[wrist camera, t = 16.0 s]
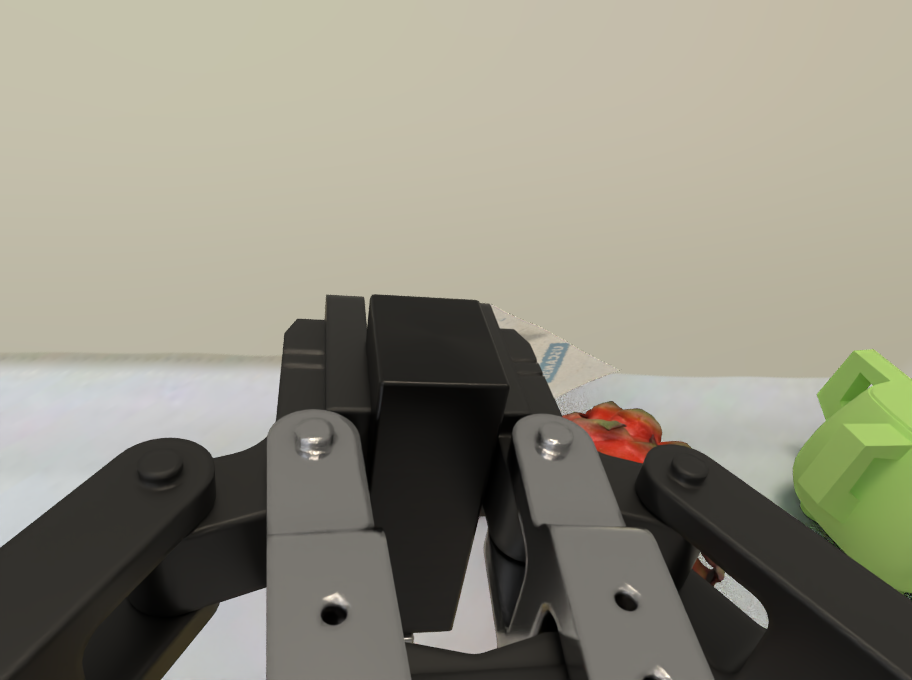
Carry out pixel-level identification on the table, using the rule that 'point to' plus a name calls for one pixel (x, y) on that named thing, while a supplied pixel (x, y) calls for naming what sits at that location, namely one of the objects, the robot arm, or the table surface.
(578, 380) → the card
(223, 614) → the table surface
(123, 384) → the table surface
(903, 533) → the teapot
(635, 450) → the dragon fruit
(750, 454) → the table surface
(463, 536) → the knife
